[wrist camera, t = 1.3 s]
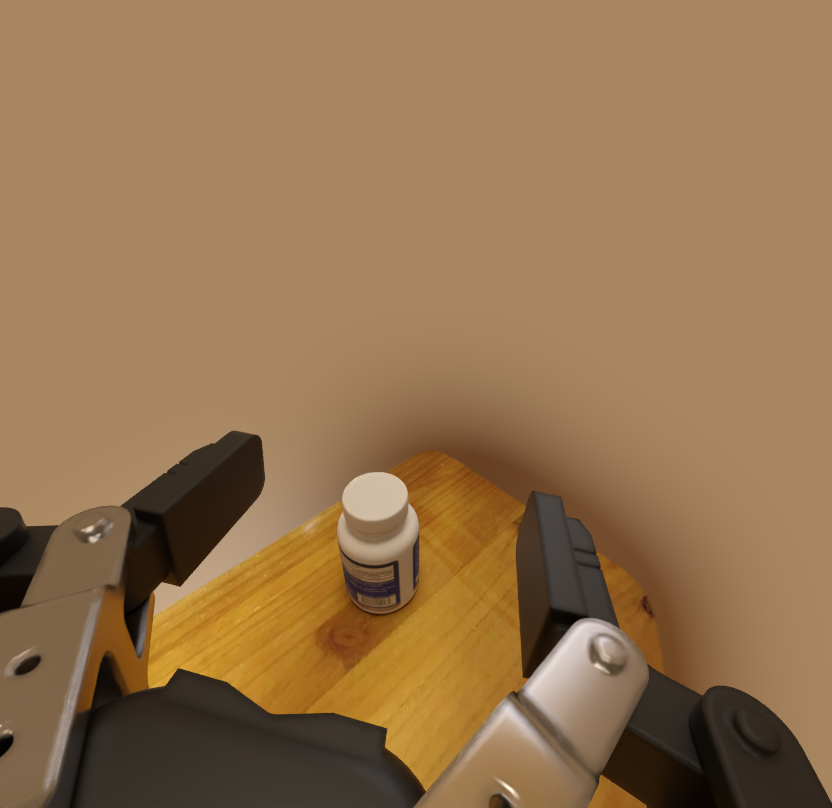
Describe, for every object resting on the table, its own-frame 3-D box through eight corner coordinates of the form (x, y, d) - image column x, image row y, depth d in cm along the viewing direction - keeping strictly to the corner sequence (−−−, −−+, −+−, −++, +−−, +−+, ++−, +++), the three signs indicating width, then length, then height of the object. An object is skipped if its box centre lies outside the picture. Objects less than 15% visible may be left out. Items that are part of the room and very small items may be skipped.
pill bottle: (382, 537, 31) (377, 453, 26) (433, 576, 28) (437, 490, 23) (330, 583, 28) (313, 497, 23) (382, 633, 25) (374, 546, 20)
